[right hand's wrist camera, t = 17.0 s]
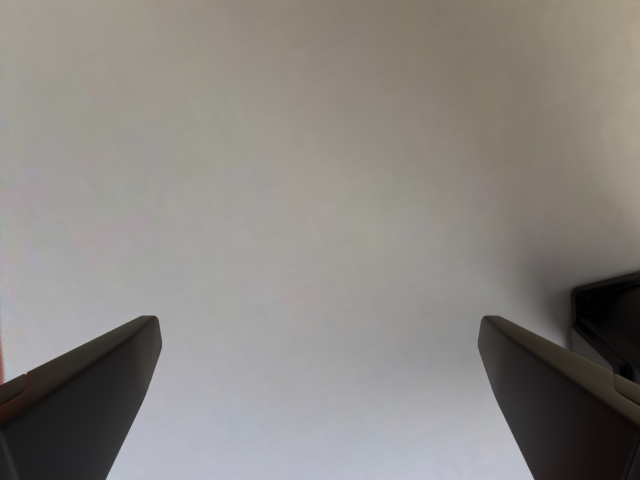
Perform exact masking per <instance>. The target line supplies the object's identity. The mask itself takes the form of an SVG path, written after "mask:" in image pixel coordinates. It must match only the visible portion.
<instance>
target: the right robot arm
mask: <svg viewBox="0 0 640 480" xmlns="http://www.w3.org/2000/svg"><path fill="white" fill-rule="evenodd" d="M582 294H584V296H583V297H582V298H579V297H580V296H581V295H582ZM571 306H572V318H573V323H572V324H571V327H570V330H571V341H572V352H571V351H569V350H567V349H565V348H563V347H561V346H559V345H557V344H555V343H553V342H551V341H549V340H547V339H545V338H542V337H540V336H538V335H536V334H534V333H532V332H530V331H528V330H526V329H524V328H522V327H520V326H518V325H516V324H514V323H512V322H510V321H508V320H506V319H504V318H502V317H500V316H484V317H483V318H482V320H481V326H480V332H479V338H478V348H479V352H480V355H481V358H482V361H483V364H484V367H485V370H486V373H487V375H488V378H489V381H490V384H491V387H492V390H493V393H494V395H495V398H496V400H497V402H498V405H499V407H500V409H501V411H502V413H503V415H504V417H505V419H506V421H507V423H508V425H509V428H510V430H511V432H512V434H513V436H514V438H515V440H516V442H517V444H518V446H519V448H520V451H521V453H522V455H523V457H524V459H525V461H526V463H527V465H528V467H529V469H530V471H531V474H532V476H533V478H534V480H640V273H636V274H632V275H628V276H624V277H619V278H615V279H611V280H607V281H603V282H599V283H594V284H590V285H586V286H582V287H578V288H576V289H575V290H573V292H572V293H571ZM161 348H162V338H161V332H160V326H159V320H158V318H157V317H156V316H140V317H138V318H136V319H134V320H132V321H130V322H128V323H126V324H124V325H122V326H120V327H118V328H116V329H114V330H112V331H110V332H108V333H106V334H104V335H102V336H100V337H98V338H95V339H93V340H91V341H89V342H87V343H85V344H83V345H81V346H79V347H77V348H75V349H73V350H71V351H69V352H67V353H65V354H63V355H61V356H59V357H57V358H55V359H53V360H51V361H49V362H47V363H45V364H43V365H41V366H39V367H37V368H35V369H33V370H31V371H29V372H27V374H23V375H21V376H19V377H17V378H15V379H13V380H11V381H8V382H6V383H4V384H2V385H0V480H106V478H107V476H108V474H109V471H110V469H111V467H112V465H113V463H114V461H115V459H116V457H117V455H118V453H119V451H120V448H121V446H122V444H123V442H124V440H125V438H126V436H127V434H128V432H129V430H130V428H131V425H132V423H133V421H134V419H135V417H136V415H137V413H138V411H139V409H140V407H141V405H142V402H143V400H144V398H145V395H146V393H147V390H148V387H149V384H150V381H151V378H152V375H153V373H154V370H155V367H156V364H157V361H158V358H159V355H160V352H161Z"/></svg>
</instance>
